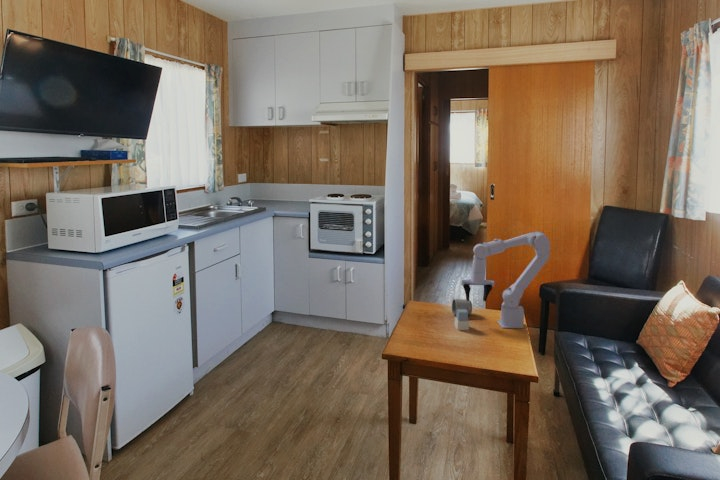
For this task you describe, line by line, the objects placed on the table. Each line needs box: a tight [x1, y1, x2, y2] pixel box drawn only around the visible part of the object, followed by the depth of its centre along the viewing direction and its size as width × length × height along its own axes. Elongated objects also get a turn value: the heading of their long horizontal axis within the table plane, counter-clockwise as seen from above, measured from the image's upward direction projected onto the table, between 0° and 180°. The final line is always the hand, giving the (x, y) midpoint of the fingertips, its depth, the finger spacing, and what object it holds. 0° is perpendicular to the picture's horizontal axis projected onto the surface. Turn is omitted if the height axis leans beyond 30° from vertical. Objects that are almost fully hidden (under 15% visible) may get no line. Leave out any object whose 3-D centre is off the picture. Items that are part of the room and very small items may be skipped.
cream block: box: [454, 317, 470, 331], centre depth 223 cm, size 5×5×4 cm
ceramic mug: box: [451, 298, 473, 316], centre depth 241 cm, size 11×8×8 cm
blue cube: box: [455, 309, 469, 321], centre depth 222 cm, size 4×4×4 cm
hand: (476, 300), depth 227 cm, fingers open, 7 cm apart
